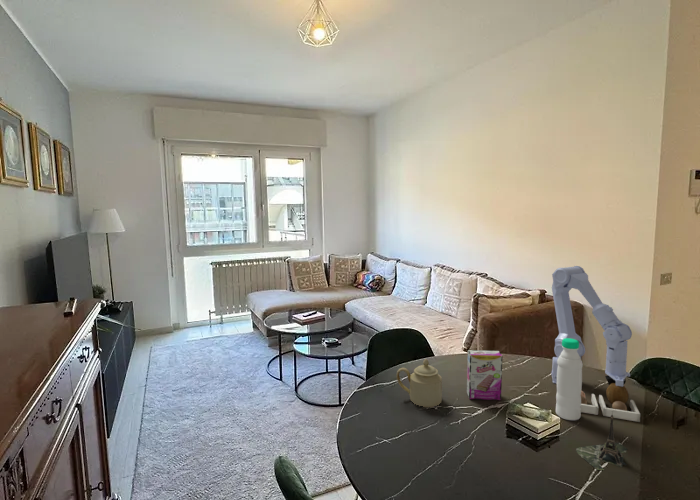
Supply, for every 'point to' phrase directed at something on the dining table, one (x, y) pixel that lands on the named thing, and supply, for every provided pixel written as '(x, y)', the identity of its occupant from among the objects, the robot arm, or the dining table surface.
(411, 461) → the dining table surface
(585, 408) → the trough left
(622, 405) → the walnut ball
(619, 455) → the eiffel tower figurine
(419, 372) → the sugar bowl
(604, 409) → the trough right
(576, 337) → the robot arm
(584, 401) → the walnut ball
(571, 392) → the water bottle
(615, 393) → the fruit
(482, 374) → the candy bar box
